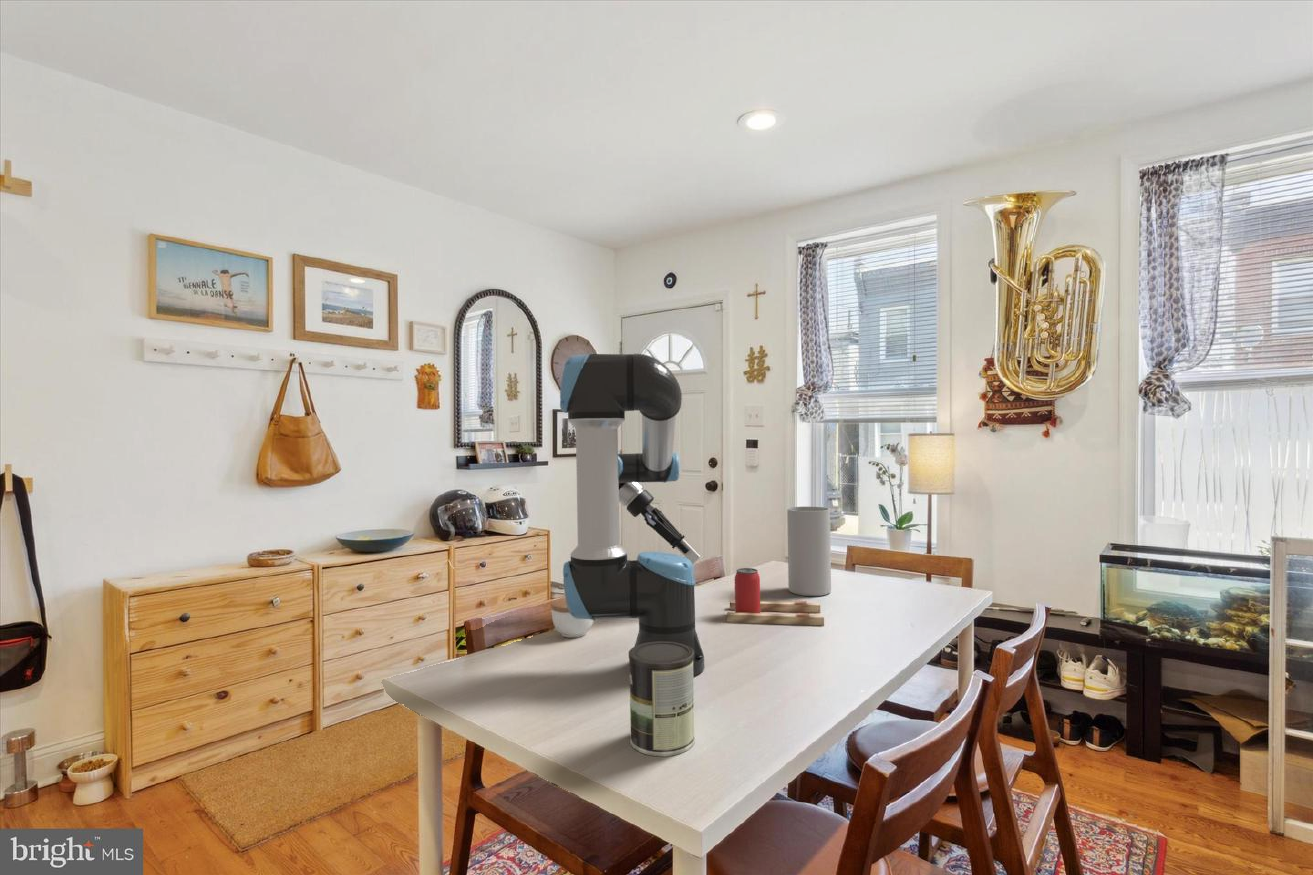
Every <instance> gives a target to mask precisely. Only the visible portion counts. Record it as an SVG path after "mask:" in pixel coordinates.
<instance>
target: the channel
mask: <svg viewBox="0 0 1313 875" xmlns="http://www.w3.org/2000/svg"><path fill="white" fill-rule="evenodd" d="M729 610H730V611H731V612H729V611H728V612H727V613H726V622H727V623H733V624H735V623H736V624H738V623H739V624H766V625H767V624H769V625H793V626H794V625H796V626H798V625H799V626H823V627H824V626H825V616H824V615H823V614H822V615H821V614H820V613H821V603H819V602H807V601H806V600H805V601H803V600H801V601H800V600H794V602H786V601H783V602H782V601H760V613H735V600H729ZM732 611H734V612H732ZM762 612H764V613H762ZM765 612H783V613H765ZM784 612H786V613H784ZM789 612H790V613H794V614H790V613H789ZM810 613H814V614H810ZM815 613H817V614H815ZM818 613H819V614H818Z"/></svg>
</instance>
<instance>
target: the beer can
mask: <svg viewBox="0 0 1313 875" xmlns="http://www.w3.org/2000/svg"><path fill="white" fill-rule="evenodd" d="M734 601H735V610H734V613H761V611H760V602H761V578H760V574H759V572H758V569H756V568H751V567H742V568H740V567H739V568H738V569H737V568H736V573H735V575H734Z"/></svg>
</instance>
